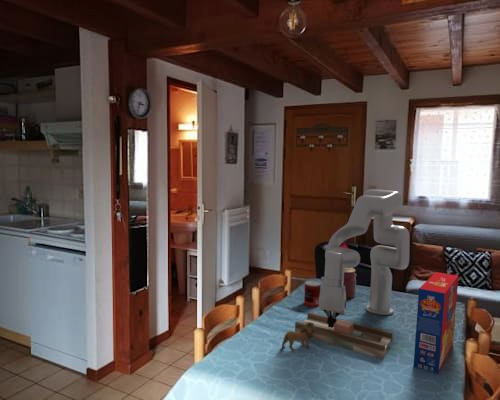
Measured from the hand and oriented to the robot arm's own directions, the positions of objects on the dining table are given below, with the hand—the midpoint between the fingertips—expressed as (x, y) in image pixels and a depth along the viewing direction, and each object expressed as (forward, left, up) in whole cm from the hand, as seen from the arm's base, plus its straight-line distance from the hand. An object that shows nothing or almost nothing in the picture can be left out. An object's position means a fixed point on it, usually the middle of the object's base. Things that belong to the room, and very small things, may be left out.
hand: (331, 326), depth 157 cm
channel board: (0, +5, -4) cm, 6 cm away
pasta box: (-7, +37, -5) cm, 38 cm away
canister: (-54, -13, -5) cm, 56 cm away
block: (0, +5, -1) cm, 5 cm away
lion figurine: (+16, -7, -5) cm, 18 cm away
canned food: (-30, -21, -5) cm, 37 cm away
